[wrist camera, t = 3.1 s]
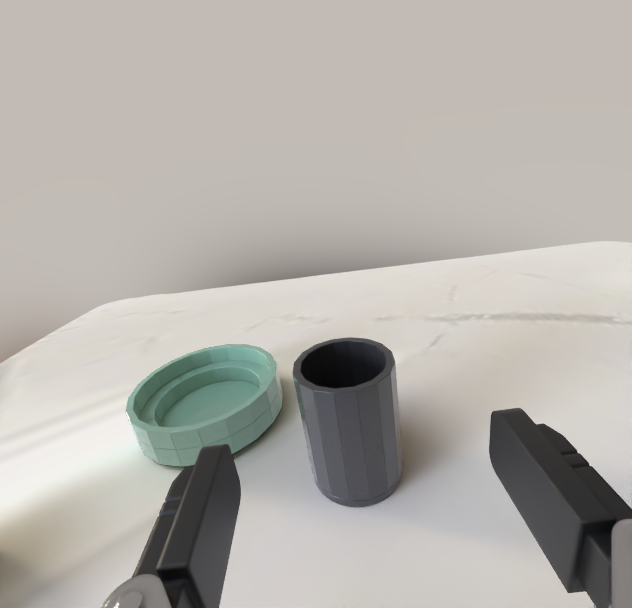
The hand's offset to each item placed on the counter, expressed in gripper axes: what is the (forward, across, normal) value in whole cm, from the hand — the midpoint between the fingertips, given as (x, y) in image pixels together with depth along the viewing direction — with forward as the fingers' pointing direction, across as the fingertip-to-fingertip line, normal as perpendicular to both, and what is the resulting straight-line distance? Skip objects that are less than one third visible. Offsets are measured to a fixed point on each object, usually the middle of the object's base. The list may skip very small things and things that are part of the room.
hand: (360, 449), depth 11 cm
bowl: (+20, +12, +13) cm, 26 cm away
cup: (+11, 0, +13) cm, 17 cm away
